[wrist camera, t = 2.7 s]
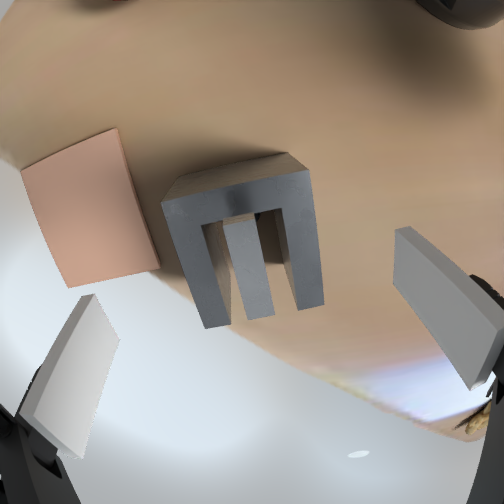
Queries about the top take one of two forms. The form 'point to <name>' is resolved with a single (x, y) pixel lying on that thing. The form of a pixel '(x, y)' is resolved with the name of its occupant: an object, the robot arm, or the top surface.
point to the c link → (237, 203)
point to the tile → (91, 212)
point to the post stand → (249, 264)
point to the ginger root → (479, 420)
